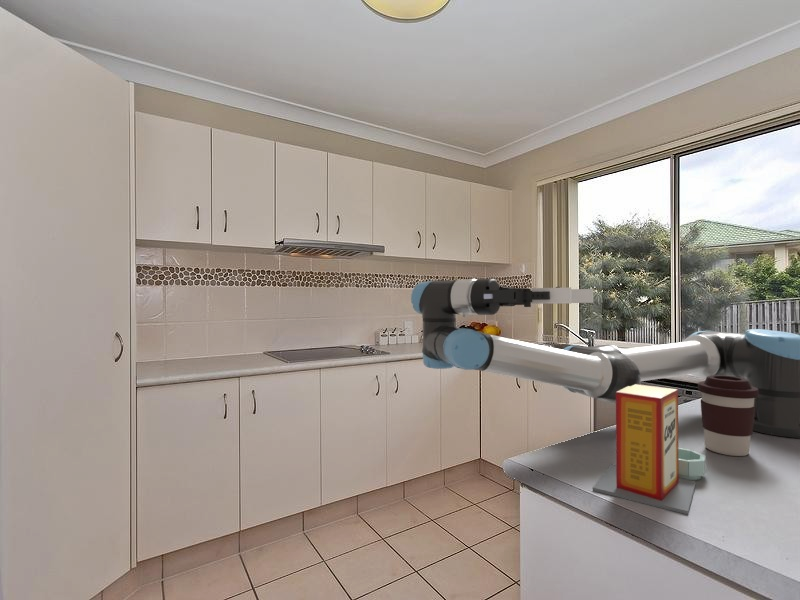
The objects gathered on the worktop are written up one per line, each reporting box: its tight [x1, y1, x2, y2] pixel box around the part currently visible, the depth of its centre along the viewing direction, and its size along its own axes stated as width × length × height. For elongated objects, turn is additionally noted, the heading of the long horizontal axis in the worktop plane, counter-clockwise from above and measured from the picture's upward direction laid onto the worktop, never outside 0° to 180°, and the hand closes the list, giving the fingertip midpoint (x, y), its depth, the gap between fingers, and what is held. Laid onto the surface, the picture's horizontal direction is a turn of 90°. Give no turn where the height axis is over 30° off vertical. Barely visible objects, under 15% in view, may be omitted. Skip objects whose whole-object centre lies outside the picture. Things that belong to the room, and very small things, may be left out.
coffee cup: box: [697, 375, 758, 457], centre depth 89 cm, size 10×10×15 cm
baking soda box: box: [615, 384, 679, 501], centre depth 71 cm, size 10×6×16 cm
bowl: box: [678, 447, 707, 481], centre depth 77 cm, size 7×7×4 cm
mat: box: [592, 463, 697, 515], centre depth 72 cm, size 13×13×1 cm
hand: (582, 295), depth 78 cm, fingers open, 13 cm apart
